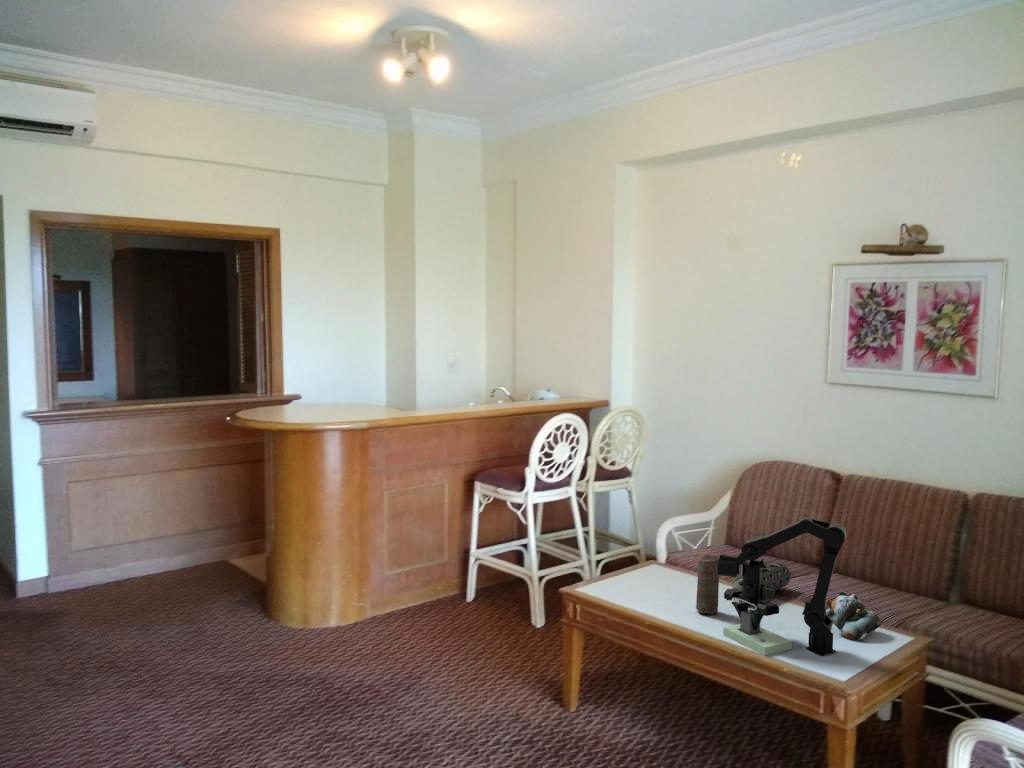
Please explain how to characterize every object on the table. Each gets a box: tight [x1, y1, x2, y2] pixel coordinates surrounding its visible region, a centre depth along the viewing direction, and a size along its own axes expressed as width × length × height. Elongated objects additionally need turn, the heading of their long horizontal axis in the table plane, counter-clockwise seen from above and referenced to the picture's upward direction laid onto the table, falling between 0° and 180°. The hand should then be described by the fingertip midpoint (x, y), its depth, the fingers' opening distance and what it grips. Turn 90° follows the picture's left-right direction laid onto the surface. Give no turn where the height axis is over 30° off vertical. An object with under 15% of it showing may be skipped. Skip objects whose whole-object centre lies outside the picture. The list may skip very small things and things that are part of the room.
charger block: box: [739, 608, 761, 636], centre depth 253 cm, size 4×4×7 cm
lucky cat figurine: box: [826, 591, 883, 641], centre depth 259 cm, size 15×12×14 cm
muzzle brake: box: [731, 562, 792, 592], centre depth 293 cm, size 10×28×10 cm, turn 135°
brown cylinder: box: [695, 553, 720, 615], centre depth 276 cm, size 8×7×20 cm
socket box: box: [722, 623, 793, 656], centre depth 251 cm, size 18×11×3 cm, turn 27°
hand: (750, 627), depth 253 cm, fingers closed on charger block, 4 cm apart
